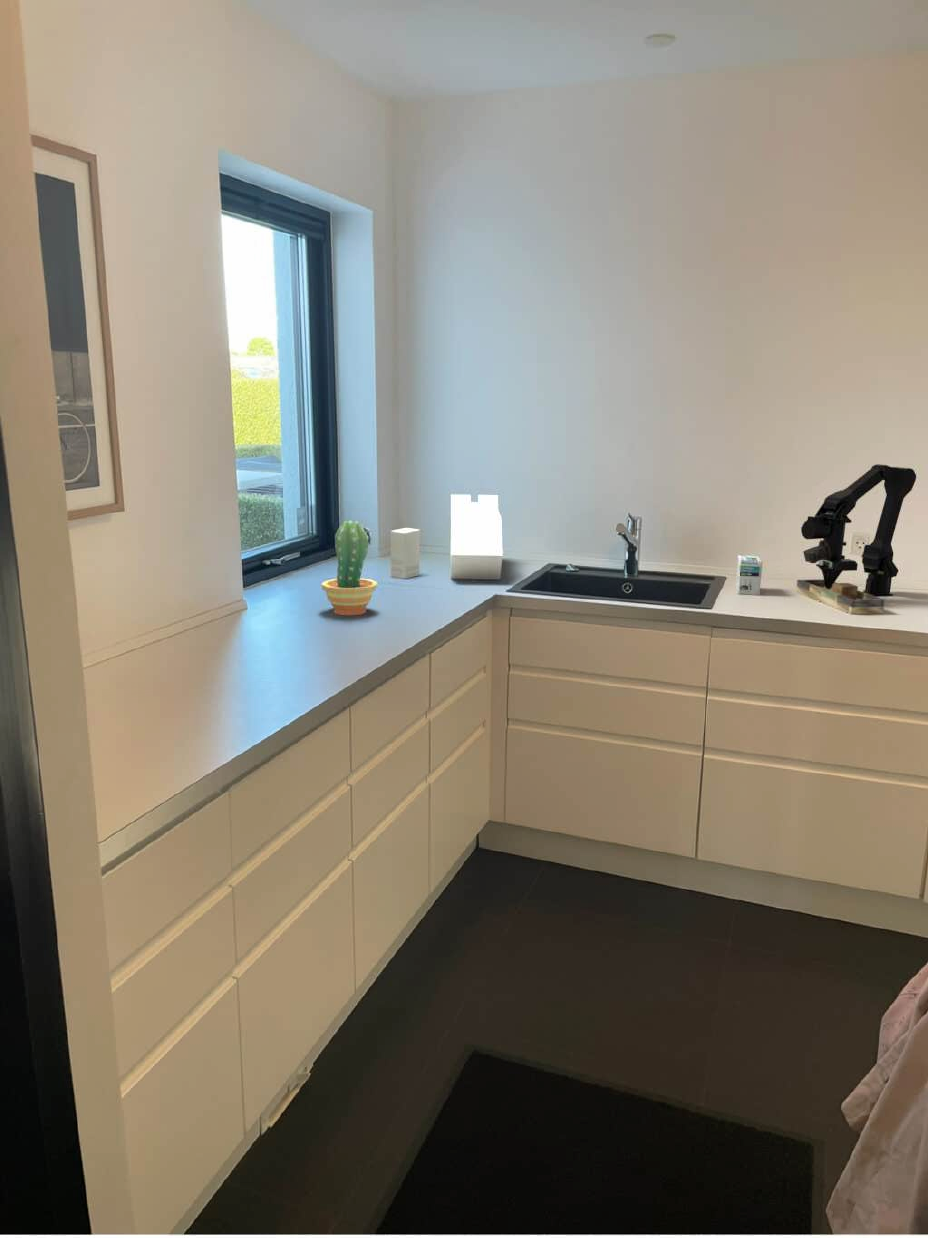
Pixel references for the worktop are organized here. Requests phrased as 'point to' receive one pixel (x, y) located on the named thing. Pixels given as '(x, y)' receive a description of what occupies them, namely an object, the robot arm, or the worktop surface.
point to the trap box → (840, 598)
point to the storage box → (475, 538)
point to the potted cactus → (350, 571)
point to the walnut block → (845, 590)
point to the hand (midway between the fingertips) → (828, 588)
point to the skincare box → (405, 553)
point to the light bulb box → (748, 575)
